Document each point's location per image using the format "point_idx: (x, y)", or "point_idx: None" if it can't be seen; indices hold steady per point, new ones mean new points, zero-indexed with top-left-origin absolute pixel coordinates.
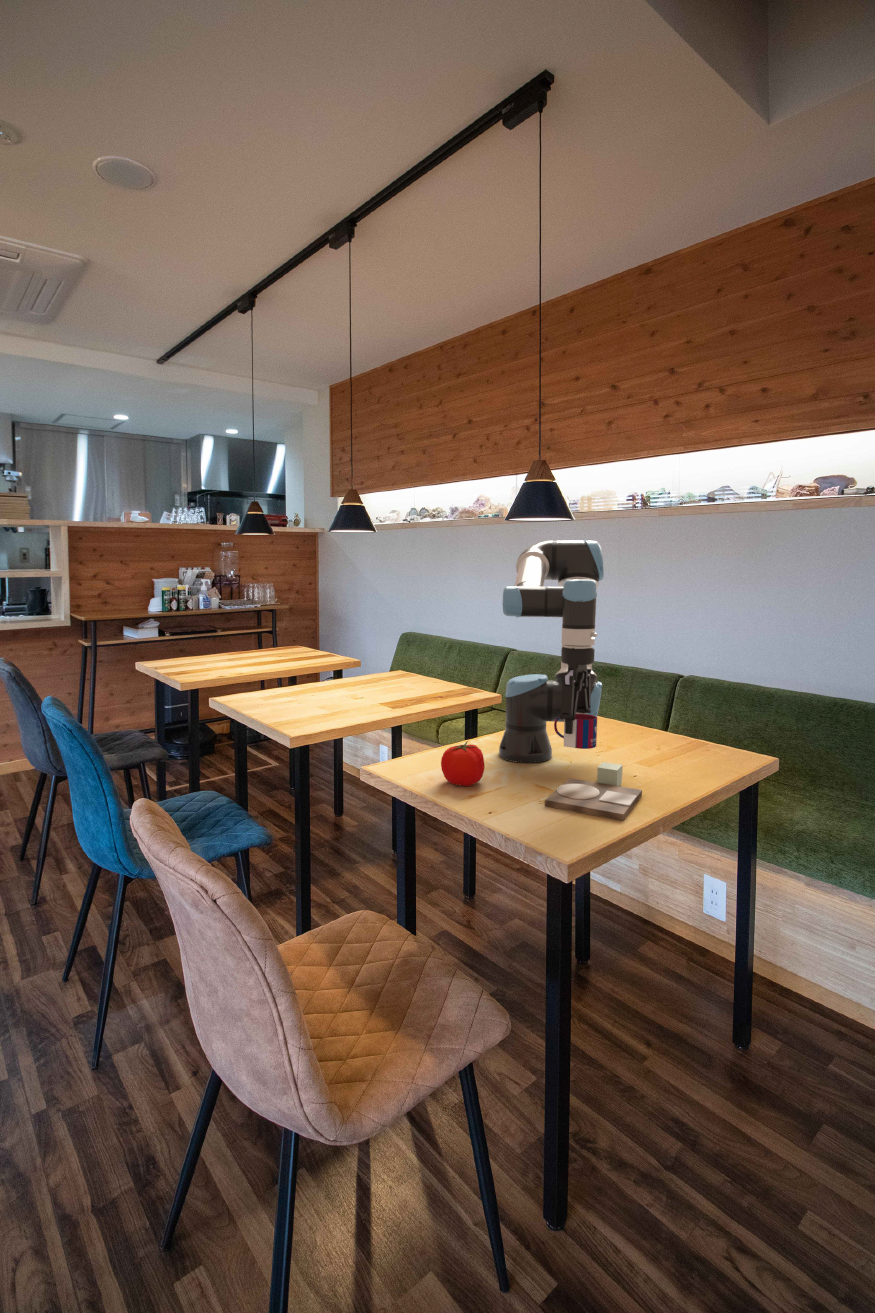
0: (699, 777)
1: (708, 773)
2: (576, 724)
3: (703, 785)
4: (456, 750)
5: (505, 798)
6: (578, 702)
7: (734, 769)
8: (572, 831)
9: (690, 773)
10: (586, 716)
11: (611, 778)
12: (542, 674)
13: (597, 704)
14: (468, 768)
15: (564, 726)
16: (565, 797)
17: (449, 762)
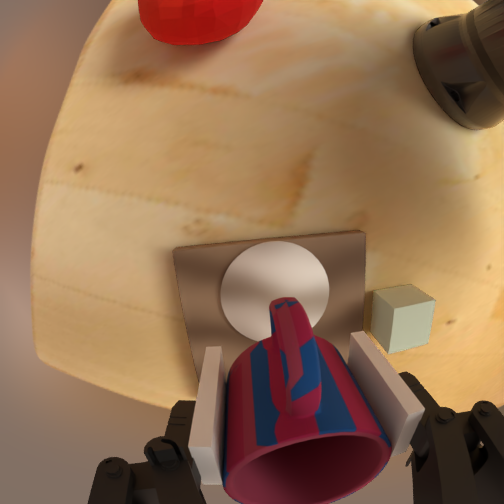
0: (459, 390)
1: (473, 388)
2: (222, 463)
3: None
4: None
5: (166, 141)
6: (433, 477)
7: (487, 397)
8: (105, 342)
9: (472, 374)
10: (376, 456)
11: (380, 331)
12: None
13: None
14: (145, 25)
15: (194, 413)
16: (218, 286)
17: None
